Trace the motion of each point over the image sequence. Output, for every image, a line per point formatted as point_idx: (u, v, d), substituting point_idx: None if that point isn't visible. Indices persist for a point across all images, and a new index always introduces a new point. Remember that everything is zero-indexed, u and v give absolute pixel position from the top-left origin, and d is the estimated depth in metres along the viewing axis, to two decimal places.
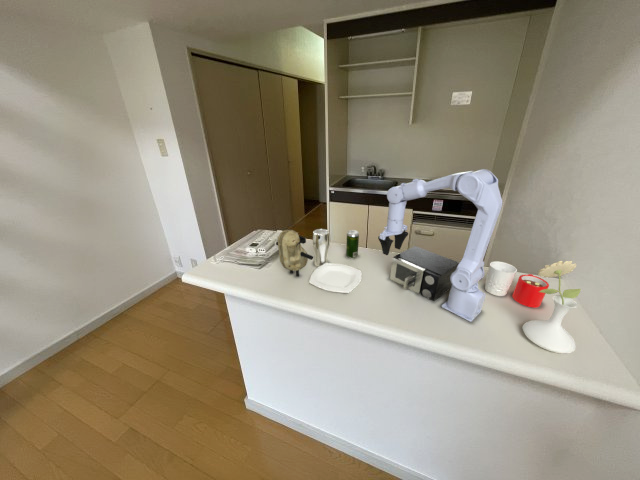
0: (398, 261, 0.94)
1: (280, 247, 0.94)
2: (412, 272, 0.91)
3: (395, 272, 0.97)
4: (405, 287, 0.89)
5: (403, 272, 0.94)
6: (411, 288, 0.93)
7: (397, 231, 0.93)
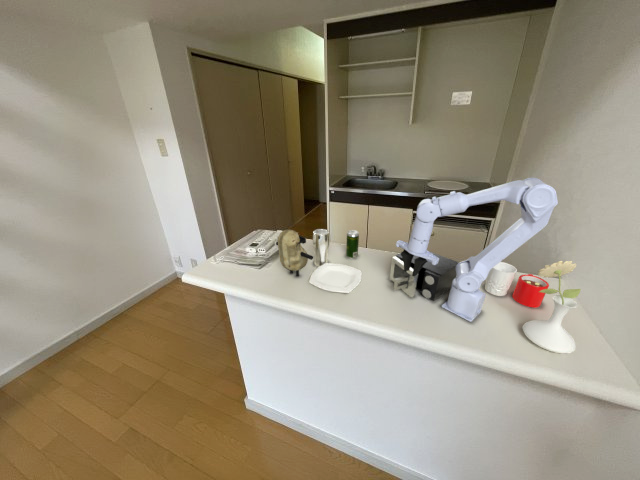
0: (396, 261, 0.94)
1: (280, 247, 0.94)
2: (406, 274, 0.90)
3: (393, 272, 0.97)
4: (395, 287, 0.89)
5: (399, 273, 0.93)
6: (405, 290, 0.92)
7: (408, 248, 0.82)
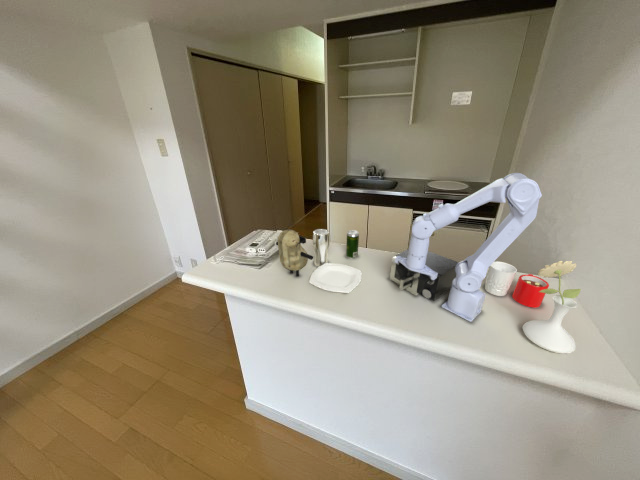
0: None
1: (280, 247, 0.94)
2: (409, 273, 0.90)
3: (394, 272, 0.97)
4: (401, 287, 0.89)
5: None
6: (408, 289, 0.92)
7: (407, 264, 0.84)
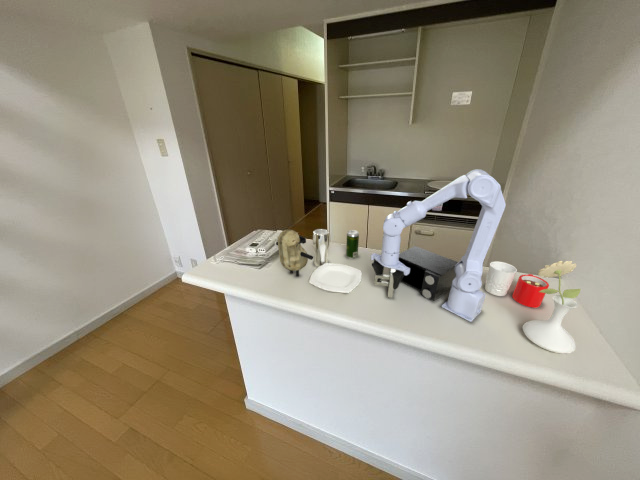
0: None
1: (280, 247, 0.94)
2: (389, 273, 0.90)
3: (389, 271, 0.97)
4: (374, 282, 0.92)
5: (389, 272, 0.94)
6: None
7: (381, 261, 0.86)
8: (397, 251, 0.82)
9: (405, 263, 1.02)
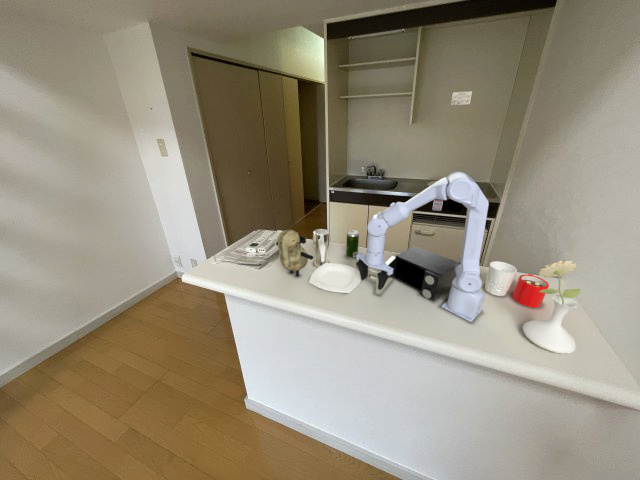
0: None
1: (280, 247, 0.94)
2: None
3: None
4: (367, 276, 0.95)
5: None
6: None
7: (366, 260, 0.88)
8: (381, 251, 0.84)
9: (405, 263, 1.02)
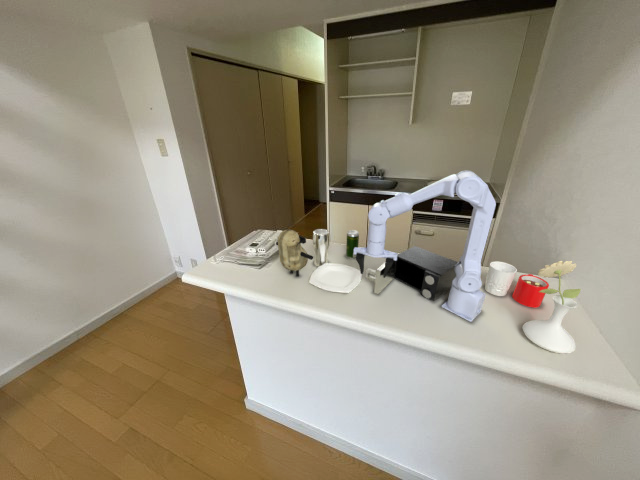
0: None
1: (280, 247, 0.94)
2: None
3: None
4: (366, 276, 0.95)
5: None
6: None
7: (369, 252, 0.85)
8: (382, 240, 0.82)
9: (405, 263, 1.02)
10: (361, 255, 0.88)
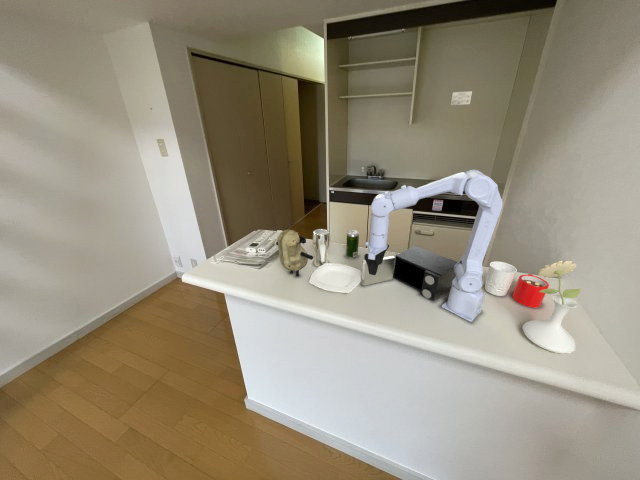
0: None
1: (280, 247, 0.94)
2: None
3: None
4: None
5: None
6: None
7: (384, 246, 0.81)
8: (385, 233, 0.80)
9: (405, 263, 1.02)
10: (376, 256, 0.81)
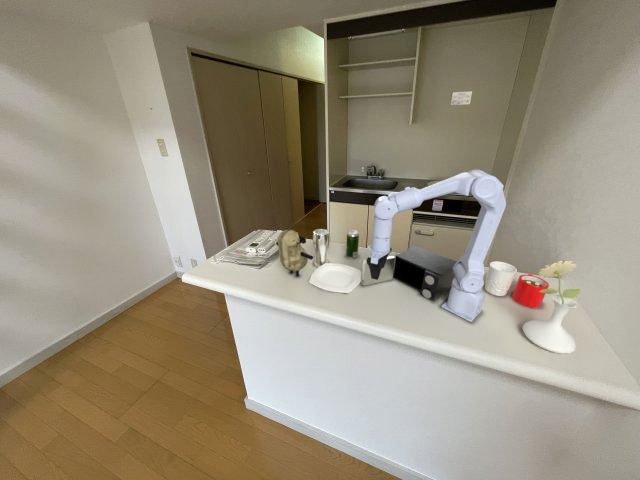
0: None
1: (280, 247, 0.94)
2: None
3: None
4: None
5: None
6: None
7: (387, 250, 0.79)
8: (389, 236, 0.77)
9: (405, 263, 1.02)
10: (379, 259, 0.78)
